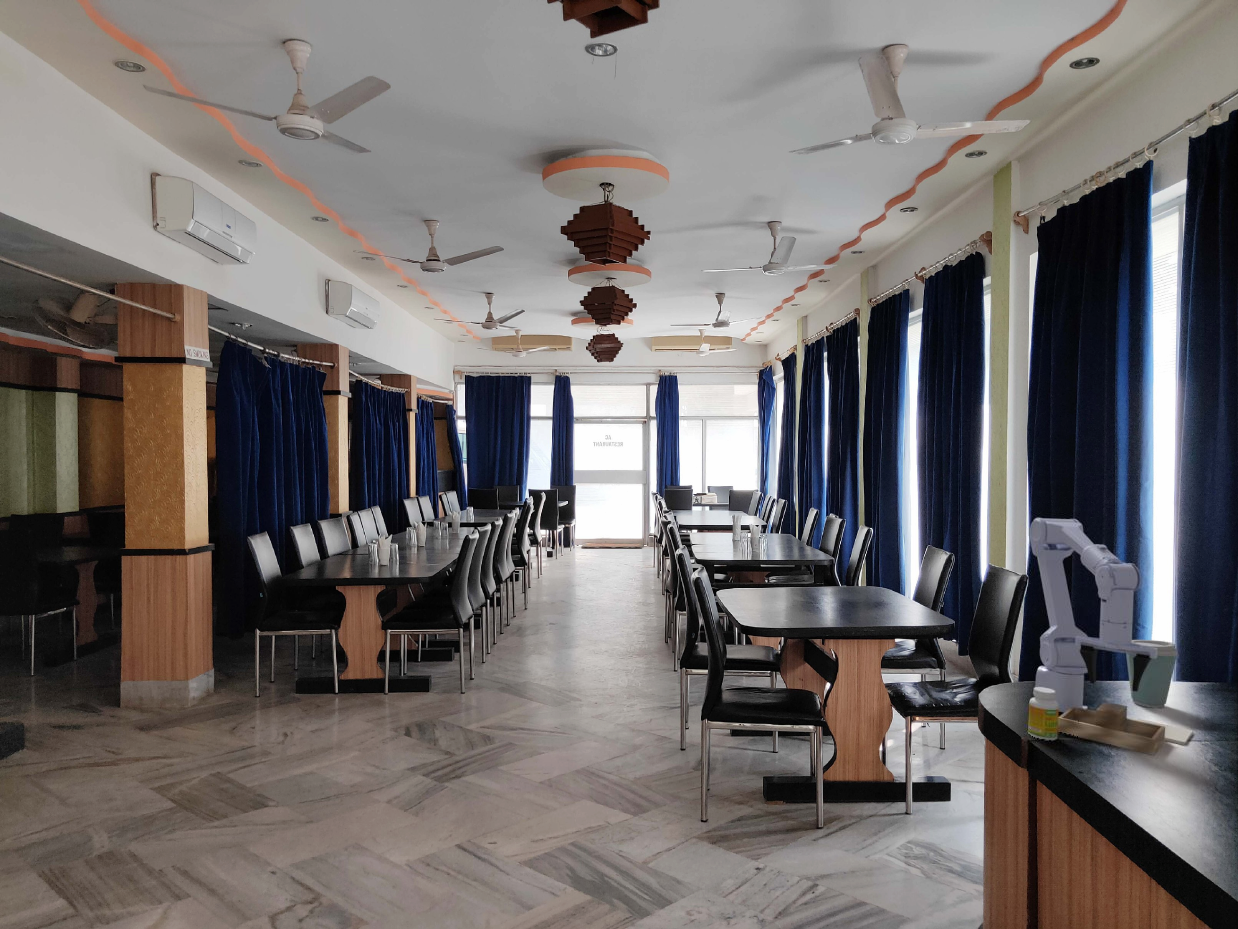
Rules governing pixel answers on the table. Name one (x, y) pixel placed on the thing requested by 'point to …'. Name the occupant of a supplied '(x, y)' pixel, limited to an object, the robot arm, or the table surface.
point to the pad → (1174, 733)
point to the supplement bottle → (1043, 714)
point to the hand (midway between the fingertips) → (1113, 686)
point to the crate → (1112, 731)
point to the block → (1112, 716)
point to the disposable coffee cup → (1154, 674)
